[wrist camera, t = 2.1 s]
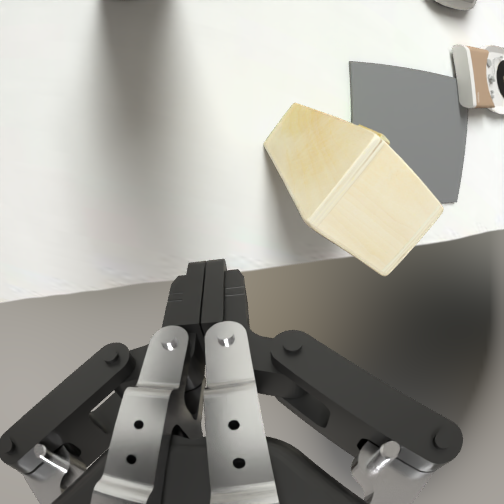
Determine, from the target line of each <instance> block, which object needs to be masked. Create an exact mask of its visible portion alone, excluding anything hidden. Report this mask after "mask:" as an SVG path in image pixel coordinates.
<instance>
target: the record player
mask: <svg viewBox="0 0 504 504" xmlns="http://www.w3.org/2000/svg"><path fill="white" fill-rule="evenodd" d="M452 52H453V58H454V64H455V71H456V78H457V86H458V95H459V102H460V104H461V105H462V106H463V107H466V108H488V109H489V110H491V111H492V112H496V113H499V114H504V48H502V47H499V46H494V45H483V46H481V47H480V48H475V47H470V46H464V45H454V46H453V47H452Z"/></svg>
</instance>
